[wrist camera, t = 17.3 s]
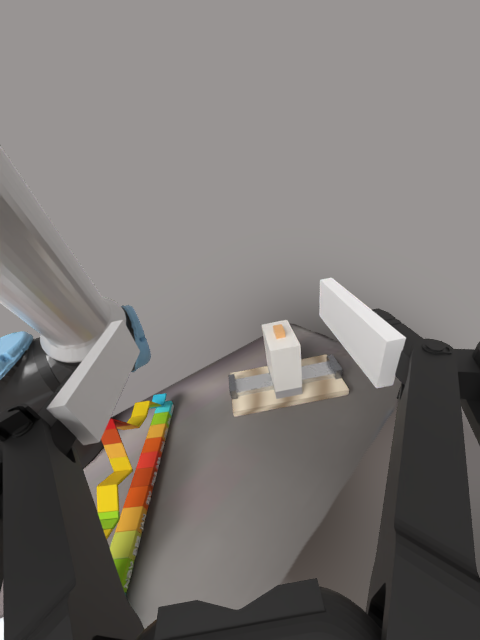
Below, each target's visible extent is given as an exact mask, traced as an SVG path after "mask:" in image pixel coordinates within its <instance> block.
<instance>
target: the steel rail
mask: <svg viewBox="0 0 480 640" xmlns="http://www.w3.org/2000/svg"><path fill="white" fill-rule="evenodd" d="M301 371H302V384H305V383H310V382H315V381H320V380H326V379H331V378H335V379H340V378H342V371H343V369H342V368H341V366H340V365H339V363H338V362H337V361H336V359H335V358H334V356H333V355H327V359H326V362H321V363H316V364H311V365H306V366H301ZM229 389H230V394H231V398H232V400H233V399H238V397H239V396H244V395H249V394H254V393H259V392H264V391H269V390H274V385H273V381H272V378H271V374H270V373H265V374H260V375H255V376H250V377H245V378H240V379H235V375H234V374H231V375H229Z"/></svg>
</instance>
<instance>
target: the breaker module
mask: <svg viewBox="0 0 480 640" xmlns="http://www.w3.org/2000/svg"><path fill="white" fill-rule="evenodd" d="M262 331H263V338H264V345H265V352H266V358H267V365H268V371H269V373H270V374H271V378H272V381H273V385H274V391H275V395H276V399H279V398H285V397H290V396H295V395H300V394H302V371H301V345H300V343H299V341H298V340H297V338H296V336H295V334H294V332H293V330H292V328H291V326H290V324H289V322H288V320H283V321H278V322H273V323H268V324H263V325H262Z"/></svg>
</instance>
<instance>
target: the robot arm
mask: <svg viewBox="0 0 480 640" xmlns="http://www.w3.org/2000/svg"><path fill="white" fill-rule="evenodd" d="M0 304H2V305H3V306H4V307H6V308H7V309H8V310H10V311H11V312H12V313H14V314H15V315H17V316H18V317H19V318H21V319H22V320H23V321H24V322H26V323H27V324H28V325H30V326H31V327H32V328H34V329H35V330H36V331H38V332H39V333H40V337H39V338H36V339H33V336H32V335H31V334H28V333H27V332H18V333H17V332H16V333H12V334H8V335H6V336H3V337H1V338H0V591H1V587H2V582H3V592H4V640H480V578H479V575H478V573H477V569H476V563H475V552H474V541H473V531H472V519H471V509H470V499H469V487H468V476H467V466H466V456H465V444H464V434H463V423H462V412H461V407H462V409H463V411H464V413H465V415H466V417H467V419H468V421H469V424H470V426H471V428H472V430H473V432H474V434H475V437H476V438H477V440H478V443H479V445H480V342H479V343H478V345H477V347H476V349H475V350H469V349H453V348H452V347H451V346H450V345H448V344H446V343H444V342H442V341H438V340H434V339H423V338H422V337H420V336H419V335H418V334H416V333H415V332H414V331H412V330H411V329H410V328H408V327H407V326H406V325H404V324H402V323H401V322H400V321H399V320H397V319H395V317H393V316H392V315H391V314H389V313H388V312H386V311H383V310H380V309H374V310H371V309H370V308H369V307H367V306H366V305H365V304H364V303H362V302H361V301H360V300H359V299H357V298H356V297H355V296H354V295H352V294H351V293H350V292H349V291H348V290H346V289H345V288H344V287H343V286H341V285H340V284H339V283H337V282H336V281H335V280H334V279H333V278H328V279H323V280H320V312H319V313H320V314H319V315H320V317H321V318H322V320H323V321H324V322H325V323H326V325H327V326H328V327H329V329H330V330H331V331H332V332H333V334H334V335H335V336H336V338H337V339H338V340H339V341H340V343H341V344H342V345H343V346H344V348H345V349H346V350H347V352H348V353H349V354H350V355H351V357H352V358H353V359H354V360H355V362H356V363H357V364H358V366H359V367H360V368H361V369H362V371H363V372H364V373H365V374H366V376H367V377H368V378H369V380H370V381H371V382H372V383H373V385H374V386H375V387H376V388H381V387H386V386H391V385H393V383H394V379H395V376H396V377H397V378H398V379H399V380H400V381H401V382H402V383H401V387H400V390H399V393H398V396H397V399H399V400H398V406H397V414H396V420H395V427H394V435H393V441H392V448H391V455H390V462H389V469H388V476H387V484H386V490H385V497H384V504H383V511H382V518H381V525H380V532H379V539H378V546H377V553H376V558H375V563H374V567H373V571H372V576H371V581H370V587H369V594H368V601H367V607H366V612H364V611H363V610H362V609H361V608H360V607H359V606H357V605H356V604H355V603H354V602H352V601H351V600H350V599H348V598H346V597H345V596H343V595H341V594H340V593H338V592H335V591H333V590H330V589H328V588H324V587H319V585H318V581H317V578H315V579H310V580H304V581H299V582H294V583H288V584H282V585H278V586H276V587H274V588H273V589H271V590H270V591H268V592H267V593H265V594H264V595H262V596H260V597H259V598H257V599H256V600H254V601H253V602H251V603H250V604H248V605H246V606H245V607H243V608H242V609H239V610H233V609H230V608H226V607H222V606H218V605H214V604H210V603H206V602H202V601H198V600H195V601H190V602H184V603H179V604H173V605H168V606H162V607H159V608H158V615H157V620H155V621H154V622H153V623H152V624H150V625H149V626H148V627H147V628H146V629H145V630H144V627H143V625H142V623H141V621H140V619H139V617H138V615H137V614H136V613H135V611H134V610H133V609H132V607H131V606H130V604H129V602H128V600H127V598H126V595H125V592H124V590H123V587H122V584H121V581H120V578H119V575H118V572H117V569H116V566H115V563H114V560H113V557H112V554H111V551H110V548H109V545H108V542H107V539H106V536H105V533H104V530H103V528H102V525H101V522H100V519H99V516H98V513H97V510H96V507H95V504H94V501H93V498H92V495H91V492H90V489H89V486H88V483H87V480H86V477H85V474H84V471H83V468H84V467H85V466H86V465H87V464H88V463H89V462H90V461H91V460H92V459H93V458H94V457H95V456H96V455H97V454H98V453H99V451H100V450H101V449H102V447H103V446H104V445H103V443H102V440H101V438H102V435H103V433H104V431H105V429H106V426H107V424H108V422H109V420H110V419H112V418H111V415H112V413H113V411H114V409H115V406H116V404H117V402H118V400H119V398H120V395H121V393H122V391H123V389H124V386H125V384H126V382H127V380H128V378H129V375H130V373H131V372H134V371H136V369H138V368H139V367H141V366H143V365H145V364H147V363H148V362H149V360H150V358H151V354H150V349H149V346H148V343H147V340H146V338H145V335H144V331H143V329H142V326H141V324H140V321H139V319H138V317H137V314H136V312H135V311H134V309H133V307H132V306H129V305H128V306H120V305H119V304H118V303H117V302H115V301H114V300H112V299H109V298H106V297H102V296H101V294H100V293H99V291H98V290H97V288H96V287H95V285H94V284H93V282H92V281H91V279H90V278H89V277H88V275H87V273H86V272H85V270H84V269H83V267H82V266H81V264H80V263H79V261H78V260H77V259H76V257H75V256H74V254H73V253H72V251H71V250H70V248H69V247H68V245H67V244H66V242H65V241H64V239H63V238H62V236H61V235H60V233H59V232H58V230H57V229H56V227H55V226H54V224H53V223H52V221H51V220H50V218H49V217H48V215H47V214H46V212H45V211H44V210H43V208H42V206H41V205H40V203H39V202H38V200H37V199H36V198H35V196H34V195H33V193H32V192H31V190H30V189H29V187H28V186H27V184H26V183H25V181H24V180H23V178H22V177H21V175H20V174H19V172H18V171H17V170H16V168H15V166H14V165H13V163H12V162H11V160H10V159H9V157H8V156H7V155H6V153H5V152H4V150H3V149H2V147H1V146H0Z"/></svg>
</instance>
